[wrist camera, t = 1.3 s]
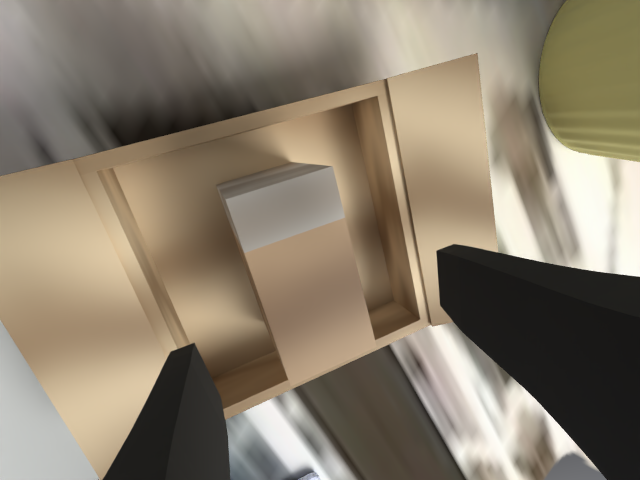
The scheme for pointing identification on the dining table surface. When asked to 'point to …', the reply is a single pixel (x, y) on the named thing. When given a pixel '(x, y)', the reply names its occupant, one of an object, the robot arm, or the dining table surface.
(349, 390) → the dining table surface
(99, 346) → the carton
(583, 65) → the potted cactus
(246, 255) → the block
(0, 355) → the grey mat
